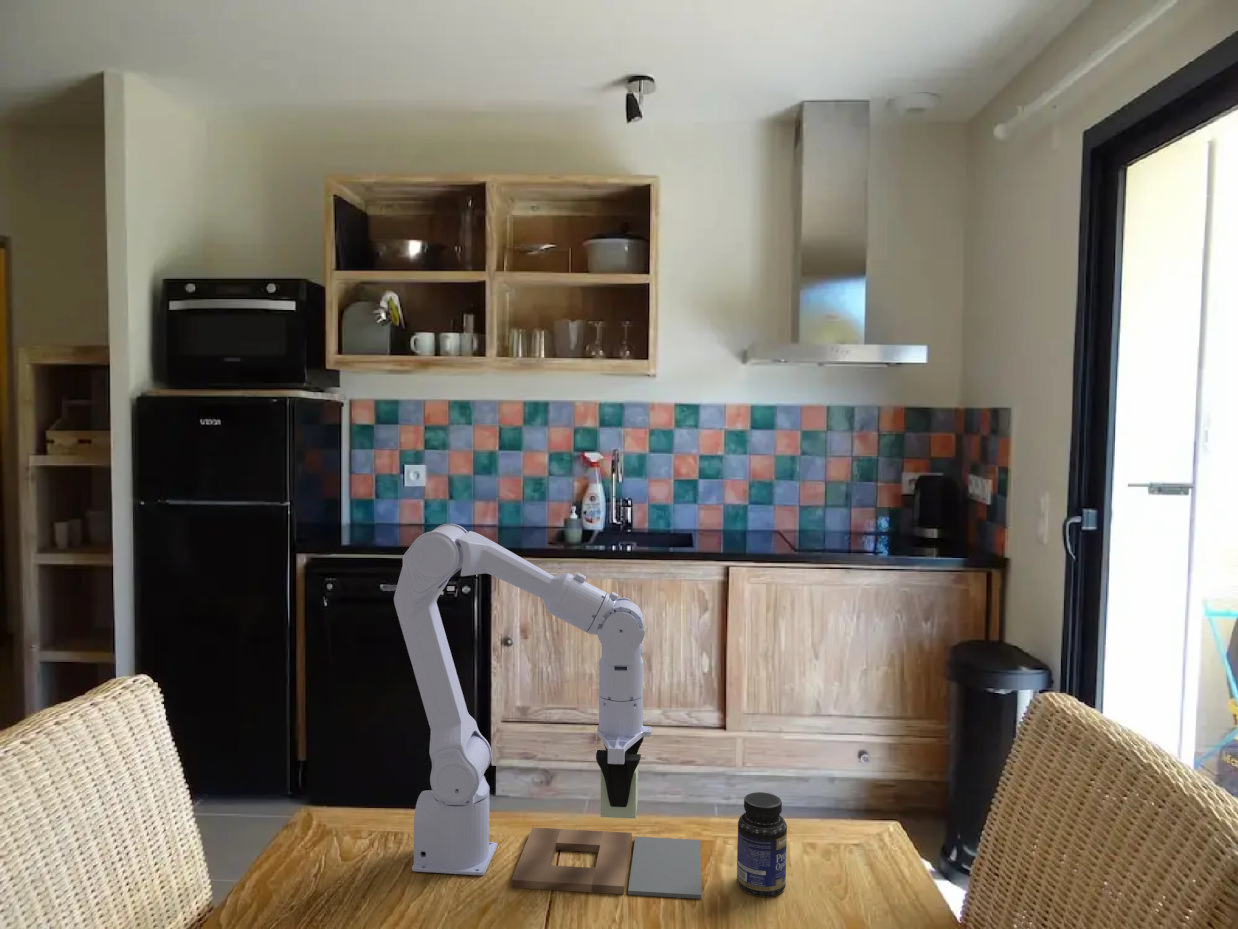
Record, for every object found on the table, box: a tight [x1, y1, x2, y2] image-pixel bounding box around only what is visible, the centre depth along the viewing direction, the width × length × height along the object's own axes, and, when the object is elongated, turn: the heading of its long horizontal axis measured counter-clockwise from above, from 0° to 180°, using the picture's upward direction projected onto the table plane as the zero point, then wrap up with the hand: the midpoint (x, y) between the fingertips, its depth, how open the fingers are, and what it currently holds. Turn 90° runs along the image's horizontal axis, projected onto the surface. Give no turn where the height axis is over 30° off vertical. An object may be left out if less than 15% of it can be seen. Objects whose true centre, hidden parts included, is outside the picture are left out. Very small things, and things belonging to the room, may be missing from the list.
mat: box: [627, 836, 703, 900], centre depth 113 cm, size 9×14×1 cm, turn 175°
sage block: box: [600, 765, 639, 820], centre depth 113 cm, size 4×4×6 cm
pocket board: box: [511, 827, 633, 895], centre depth 114 cm, size 14×14×1 cm
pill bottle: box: [736, 791, 788, 898], centre depth 109 cm, size 6×6×11 cm
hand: (620, 797), depth 113 cm, fingers closed on sage block, 4 cm apart
